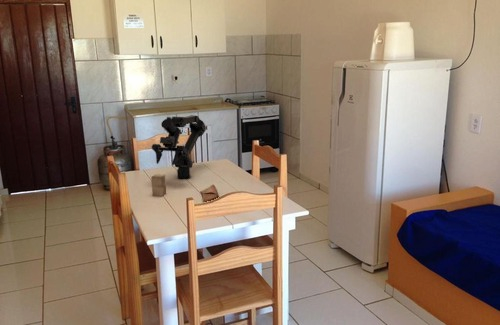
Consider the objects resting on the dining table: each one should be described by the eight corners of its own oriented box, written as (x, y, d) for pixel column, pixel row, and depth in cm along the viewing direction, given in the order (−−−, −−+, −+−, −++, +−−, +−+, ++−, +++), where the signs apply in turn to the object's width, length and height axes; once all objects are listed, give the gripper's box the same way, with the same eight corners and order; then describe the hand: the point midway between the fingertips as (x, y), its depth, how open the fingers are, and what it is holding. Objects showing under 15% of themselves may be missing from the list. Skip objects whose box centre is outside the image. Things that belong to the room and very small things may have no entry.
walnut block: (157, 192, 225) (156, 173, 222) (166, 193, 223) (165, 174, 221) (152, 196, 220) (151, 176, 217) (161, 196, 219) (160, 177, 216)
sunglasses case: (199, 191, 226) (205, 180, 225) (211, 197, 228) (217, 185, 227) (202, 203, 209) (209, 191, 208) (215, 209, 211) (222, 197, 210)
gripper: (150, 129, 231) (142, 155, 224) (182, 131, 224) (174, 158, 218) (160, 139, 240) (152, 165, 234) (191, 141, 234) (183, 167, 228)
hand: (164, 164), depth 228 cm, fingers open, 9 cm apart
